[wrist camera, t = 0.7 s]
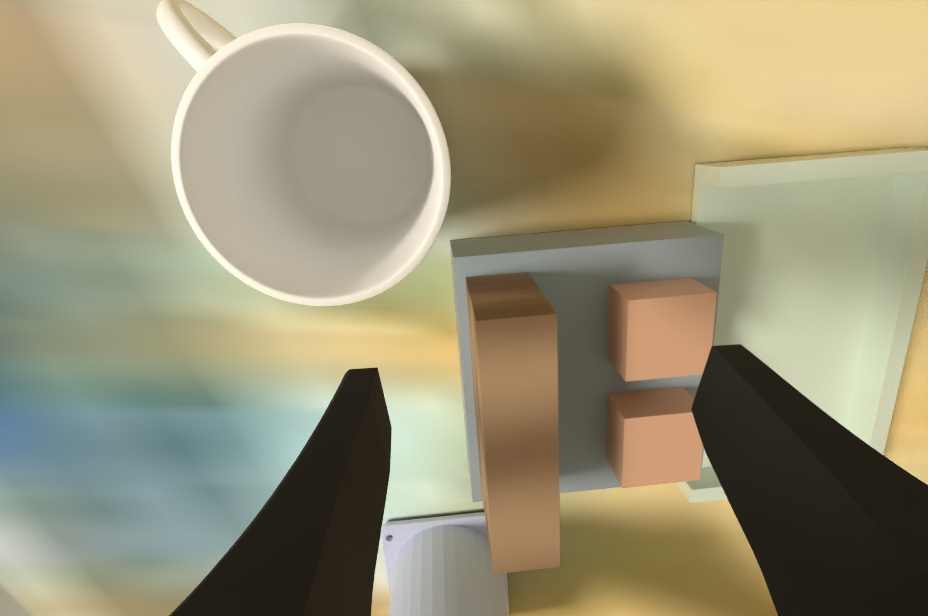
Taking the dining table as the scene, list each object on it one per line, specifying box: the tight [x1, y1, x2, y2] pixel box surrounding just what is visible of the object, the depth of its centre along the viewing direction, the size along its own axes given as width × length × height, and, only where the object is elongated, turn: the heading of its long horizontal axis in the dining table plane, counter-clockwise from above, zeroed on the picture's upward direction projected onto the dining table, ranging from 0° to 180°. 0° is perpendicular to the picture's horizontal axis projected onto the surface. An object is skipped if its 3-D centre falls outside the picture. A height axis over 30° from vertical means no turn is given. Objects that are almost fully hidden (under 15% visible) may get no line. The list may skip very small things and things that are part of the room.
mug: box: [156, 0, 451, 306], centre depth 20 cm, size 12×8×12 cm
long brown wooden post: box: [465, 272, 560, 574], centre depth 24 cm, size 12×3×6 cm, turn 4°
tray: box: [676, 147, 928, 503], centre depth 30 cm, size 20×12×2 cm, turn 4°
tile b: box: [608, 278, 717, 382], centre depth 25 cm, size 4×4×2 cm
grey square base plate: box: [450, 221, 724, 502], centre depth 29 cm, size 14×13×4 cm
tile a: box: [606, 387, 703, 488], centre depth 27 cm, size 4×4×2 cm
